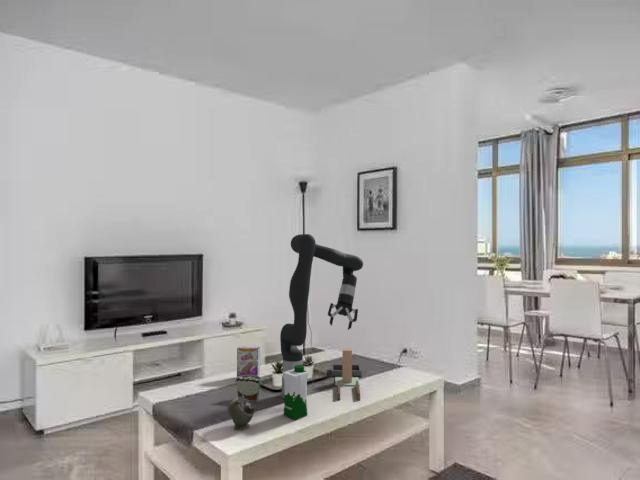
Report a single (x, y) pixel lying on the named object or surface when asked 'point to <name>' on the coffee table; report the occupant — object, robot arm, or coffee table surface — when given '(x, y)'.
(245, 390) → the food container
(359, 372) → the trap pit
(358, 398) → the walled channel
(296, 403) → the milk carton
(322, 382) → the coffee table surface
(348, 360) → the terracotta post
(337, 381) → the pad
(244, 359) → the candy bar box
